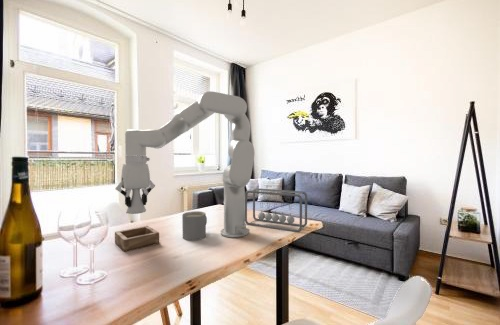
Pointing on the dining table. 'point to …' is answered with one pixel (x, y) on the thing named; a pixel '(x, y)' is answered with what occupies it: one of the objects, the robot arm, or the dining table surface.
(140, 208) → the flask
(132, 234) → the walnut well
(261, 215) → the newton's cradle
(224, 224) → the robot arm
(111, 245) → the dining table surface
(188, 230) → the coffee mug
